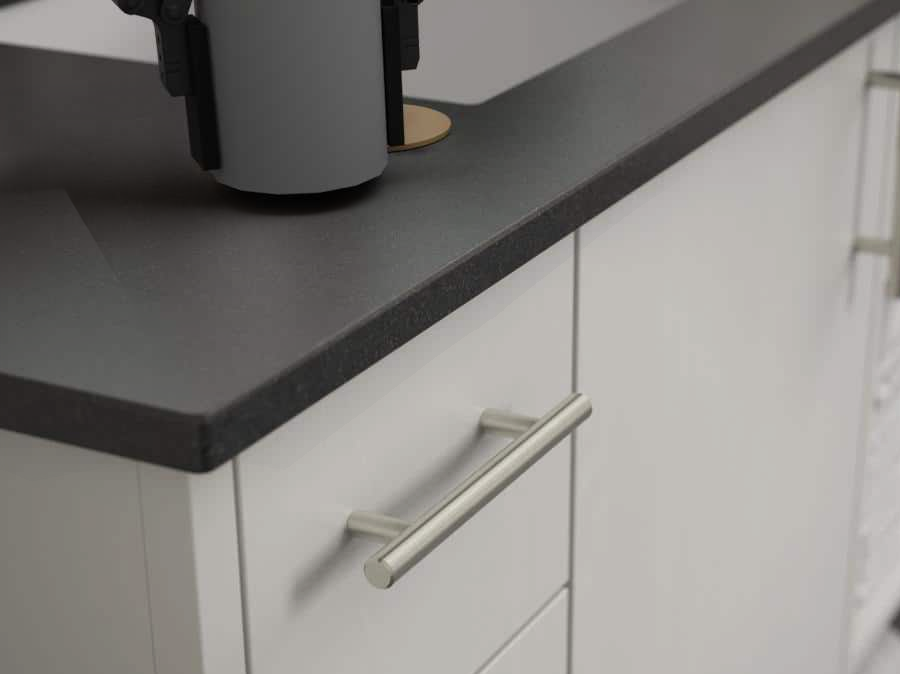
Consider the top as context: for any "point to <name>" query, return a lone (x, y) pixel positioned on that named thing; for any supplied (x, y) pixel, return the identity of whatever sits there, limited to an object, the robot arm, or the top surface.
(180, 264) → the top surface
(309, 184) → the cup
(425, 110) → the cork coaster
